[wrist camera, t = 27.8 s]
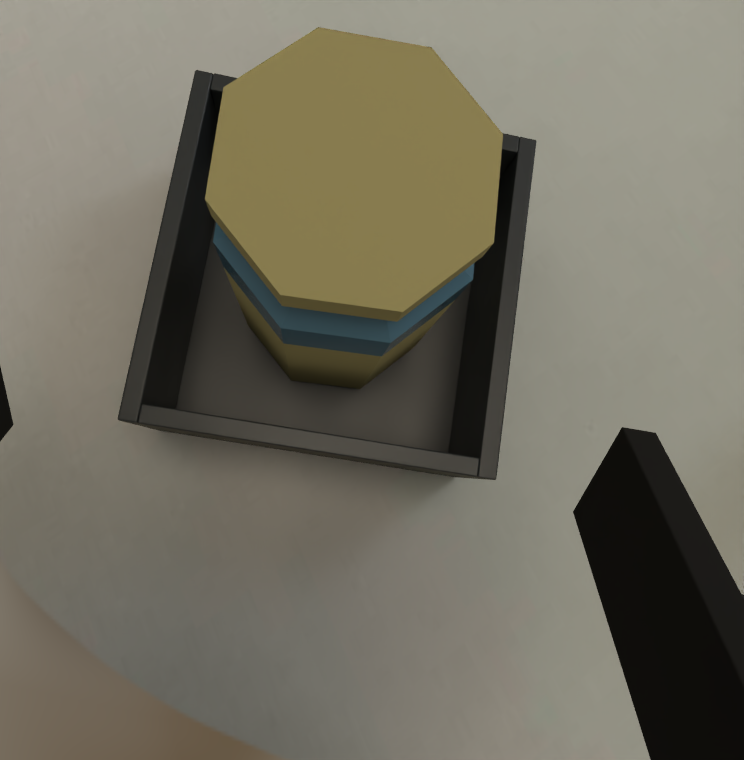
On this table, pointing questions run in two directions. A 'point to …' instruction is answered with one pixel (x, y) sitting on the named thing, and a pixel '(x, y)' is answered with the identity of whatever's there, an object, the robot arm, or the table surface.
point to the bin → (311, 400)
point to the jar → (350, 200)
